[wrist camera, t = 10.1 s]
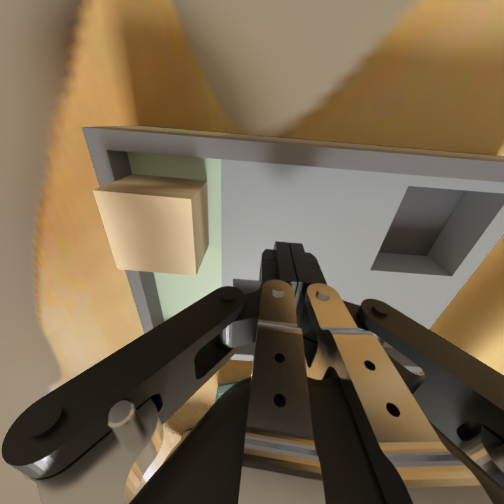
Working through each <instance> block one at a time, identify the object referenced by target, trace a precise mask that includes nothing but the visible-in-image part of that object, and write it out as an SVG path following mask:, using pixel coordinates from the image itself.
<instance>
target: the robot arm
mask: <svg viewBox="0 0 504 504" xmlns="http://www.w3.org/2000/svg"><path fill="white" fill-rule="evenodd" d="M251 343H255V345H254V354H253V362H252V370H251V377H250V378H247V379H244V380H242V381H240V382H238V383H236V384H235V385H233V386H232V387H230V388H229V389H228V390H227V391H226V392H224V393H223V394H222V395H221V396H220V397H219V399H218V400H217V401H216V402H215V403H214V404H213V406H212V407H211V408H210V409H209V410H208V411H207V413H206V414H205V415H204V416H203V417H202V419H201V420H200V421H199V422H198V423H197V424H196V426H195V427H194V428H193V429H192V430H191V431H190V433H189V434H188V435H187V436H186V437H185V438H184V440H183V441H182V442H181V443H180V444H179V446H178V447H177V448H176V449H175V450H174V451H173V453H172V454H171V455H170V456H169V457H168V458H167V460H166V461H165V462H164V463H163V464H162V465H161V467H160V468H159V469H158V470H157V471H156V472H155V474H154V475H153V476H152V477H151V478H150V479H149V481H148V482H147V483H146V484H145V485H144V486H143V488H142V489H141V490H140V491H139V492H138V494H137V489H138V486H139V484H140V481H141V479H142V477H143V475H144V473H145V471H146V470H147V468H148V467H149V466H150V464H151V463H152V462H153V460H154V459H155V458H156V456H157V454H158V452H159V450H160V448H161V445H162V441H163V426H162V424H163V423H164V422H166V421H167V420H168V419H169V418H170V417H171V416H172V415H173V414H174V413H175V412H176V411H177V410H178V409H179V408H180V407H181V406H182V405H183V404H184V403H185V402H186V401H187V400H188V399H189V398H190V397H191V396H192V395H193V394H194V393H195V392H196V391H197V390H198V389H199V388H200V387H201V386H203V385H204V384H205V383H206V382H207V381H208V380H209V379H210V378H211V377H212V376H213V375H214V374H215V373H216V372H217V371H218V370H219V369H220V368H221V367H222V366H223V365H224V364H225V363H226V362H227V361H228V360H229V359H230V358H231V357H232V356H233V355H234V354H235V353H236V352H237V351H238V350H239V349H240V347H241V346H242V345H247V344H251ZM385 343H388V344H389V345H390V346H392V347H393V348H395V349H396V350H397V351H399V352H400V353H401V354H403V355H404V356H405V357H407V358H408V359H409V360H411V361H412V362H414V363H415V364H416V365H418V366H419V367H420V368H421V369H422V370H423V371H424V373H425V375H424V376H418V375H415V374H413V373H412V372H410V371H409V370H408V369H406V368H405V367H404V366H403V365H401V364H400V363H399V362H397V361H396V360H395V359H393V358H392V357H391V356H390V355H388V354H387V353H386V352H385V350H384V349H383V346H384V345H385ZM2 456H3V458H4V460H5V461H6V462H7V463H8V464H10V465H11V466H13V467H14V468H16V469H17V470H19V471H21V473H22V474H23V476H24V477H25V478H26V479H27V480H29V481H31V482H32V483H34V484H35V485H37V487H38V491H39V496H40V500H41V504H504V375H502V374H500V373H499V372H497V371H495V370H494V369H492V368H491V367H489V366H487V365H486V364H484V363H482V362H481V361H479V360H478V359H476V358H474V357H473V356H471V355H469V354H468V353H466V352H465V351H463V350H461V349H460V348H458V347H456V346H455V345H453V344H452V343H450V342H448V341H447V340H445V339H443V338H442V337H440V336H439V335H437V334H435V333H434V332H432V331H430V330H429V329H427V328H426V327H424V326H422V325H421V324H419V323H417V322H416V321H414V320H413V319H411V318H409V317H408V316H406V315H404V314H403V313H401V312H400V311H398V310H396V309H395V308H393V307H391V306H390V305H388V304H386V303H385V302H382V301H380V300H376V299H365V300H363V301H362V303H361V305H356V304H353V303H350V302H347V301H344V300H342V299H341V297H340V295H339V293H338V292H337V291H336V290H335V289H334V288H332V287H330V286H328V285H327V283H326V280H325V278H324V275H323V273H322V270H321V268H320V266H319V263H318V261H317V258H316V257H315V256H314V255H313V254H311V253H307V252H305V250H304V247H303V244H302V243H291V242H289V243H288V242H279V241H275V244H274V250H272V249H265V250H264V252H263V253H262V257H261V266H260V274H259V289H258V290H257V291H255V292H252V293H248V294H244V293H243V292H242V291H241V290H240V289H238V288H236V287H232V286H224V287H220V288H218V289H216V290H214V291H213V292H211V293H209V294H208V295H206V296H205V297H203V298H201V299H200V300H198V301H197V302H195V303H193V304H192V305H190V306H188V307H187V308H185V309H184V310H182V311H180V312H179V313H177V314H176V315H174V316H172V317H171V318H169V319H168V320H166V321H164V322H163V323H161V324H160V325H158V326H156V327H155V328H153V329H152V330H150V331H148V332H147V333H145V334H143V335H142V336H140V337H139V338H137V339H135V340H134V341H132V342H131V343H129V344H127V345H126V346H124V347H123V348H121V349H119V350H118V351H116V352H115V353H113V354H111V355H110V356H108V357H107V358H105V359H103V360H102V361H100V362H99V363H97V364H95V365H94V366H92V367H90V368H89V369H87V370H86V371H84V372H82V373H81V374H79V375H78V376H76V377H74V378H73V379H71V380H70V381H68V382H66V383H65V384H63V385H62V386H60V387H58V388H57V389H55V390H54V391H52V392H50V393H49V394H47V395H46V396H44V397H42V398H41V399H39V400H38V401H36V402H35V403H33V404H32V405H31V406H30V407H28V408H27V409H26V410H25V411H24V412H23V413H22V414H21V415H20V416H19V417H18V418H17V419H16V421H15V422H14V423H13V424H12V426H11V427H10V429H9V430H8V432H7V434H6V436H5V438H4V441H3V445H2ZM136 494H137V495H136Z"/></svg>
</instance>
